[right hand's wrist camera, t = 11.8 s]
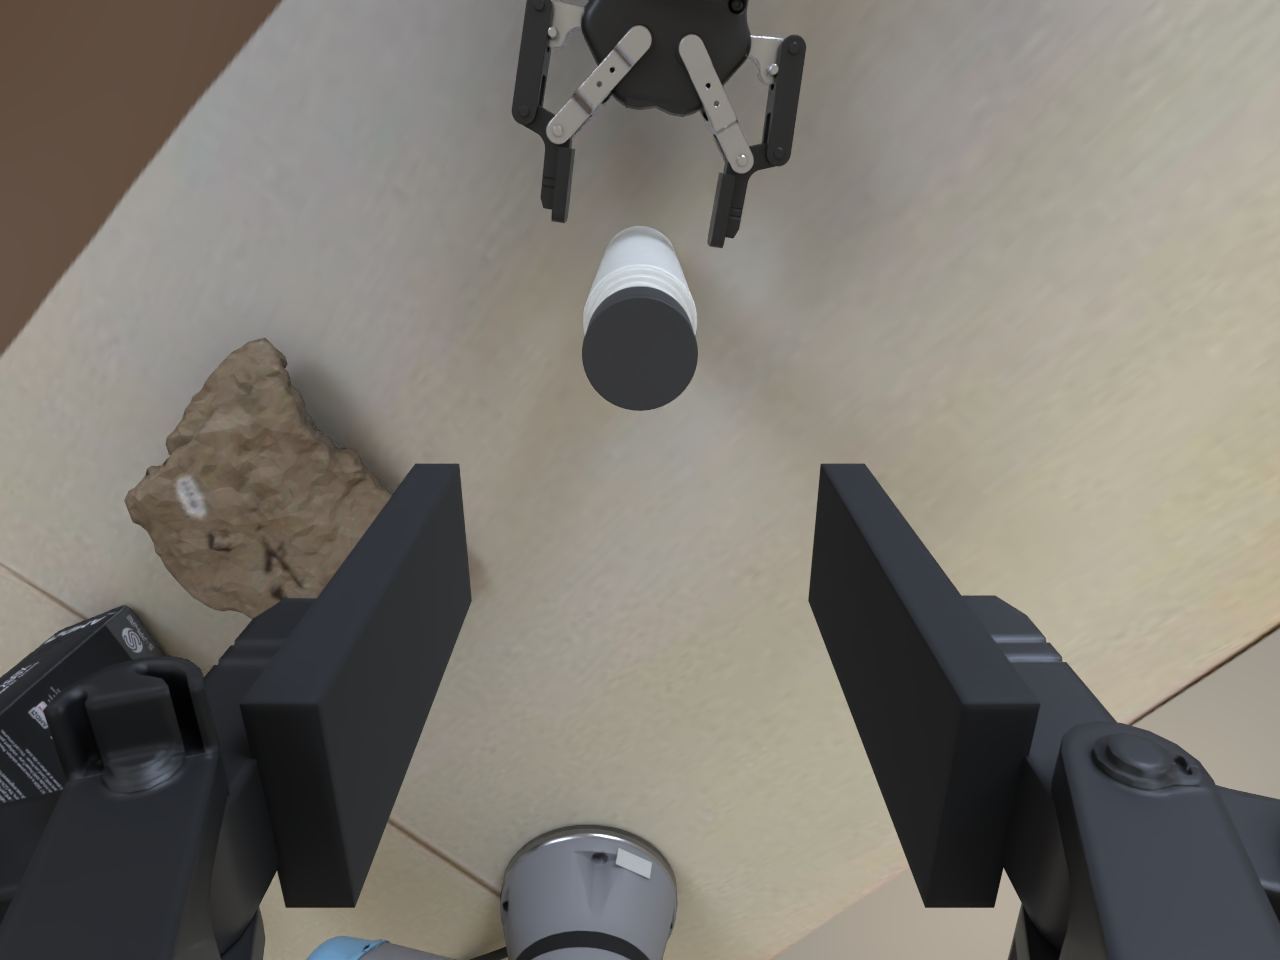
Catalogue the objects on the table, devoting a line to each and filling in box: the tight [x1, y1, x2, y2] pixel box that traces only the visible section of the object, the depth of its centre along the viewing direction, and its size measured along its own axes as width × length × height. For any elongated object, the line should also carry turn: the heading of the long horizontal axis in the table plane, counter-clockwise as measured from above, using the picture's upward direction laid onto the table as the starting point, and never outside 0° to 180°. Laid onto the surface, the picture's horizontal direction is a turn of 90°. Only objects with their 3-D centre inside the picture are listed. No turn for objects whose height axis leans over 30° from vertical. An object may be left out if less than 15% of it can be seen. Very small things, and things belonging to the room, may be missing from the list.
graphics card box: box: [0, 606, 165, 803], centre depth 50 cm, size 17×7×27 cm, turn 23°
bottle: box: [583, 226, 697, 335], centre depth 39 cm, size 5×5×25 cm
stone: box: [124, 338, 392, 619], centre depth 54 cm, size 21×15×6 cm
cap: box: [582, 286, 698, 411], centre depth 28 cm, size 4×4×2 cm
